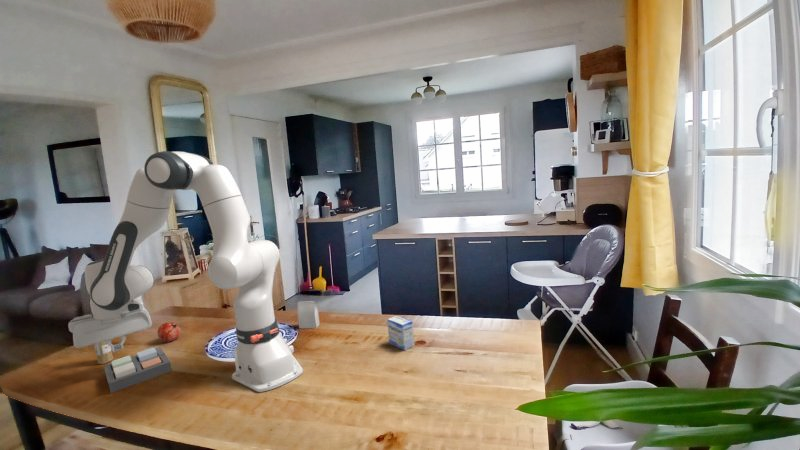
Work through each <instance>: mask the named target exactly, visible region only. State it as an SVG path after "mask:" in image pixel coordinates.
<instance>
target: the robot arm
mask: <svg viewBox="0 0 800 450" xmlns="http://www.w3.org/2000/svg"><path fill="white" fill-rule="evenodd" d="M177 190H180V191H181V190H182V191H188V190H192V191H194V192H195V193H196V195H198V198H199V199H200V202H201V206H202V207H203V210H204V213H205V216H206V218H207V221H208V224H209V227H210V231H211V234H212V239H213V240H212V242H213V243H212V244H213V248H212V250H213V251H212V256H211V260H210V261H209V263H208V266H207V275H208V277H209V280H210V282H211V283H212V285H214V286H215V287H217V288H218V289H220V290H230V289H235V288H238V292H237V294H236V296H235V298H234V301H233V311H234V316H235V322H236V323H235V324H236V328H235V336H236V339H237V341H238V342H237V344H236V346H235V348H234V349H233V352H234V361H235V364H234V365H235V371H234V372H233V373H232V374H231V379H232V380H234V381H235V382H237V383H239V384H241V385H243V386H245V387H246V388H247V387H248V388H249V389H251V390H253V391H255V392H258V393H262V392H267V391H270V390H273V389H277V388H278V387H281V386H283V385H285V384H288V383H289V382H291V381H293V380H294V379H297V378H298V377H299V376H301V375H302V374H303V372H304V369H303V367H302V365H300V363H299V361H298V360H297V359H296V357H295V356H294V355H293V354H294V352H295V348H294V346H293V345H288V344H287V343H288V339H287V338H284V337H283V335H282V332H281V331H280V328H279V323H278V321H277V319H276V317H275V309H274V303H273V302H274V301H273V284H274V277H275V271H276V268H277V266H278V264H279V261H280V258H281V257H280V256H281V254H280V250H279V248H278V246H277V244H275V242H273V241H271V240H268V239H257V240H252V241H250V242H249V238H248V231H249V227H250V225H251V221H252V220H251V216H250V213H249V211H248V207H247V205H246V203H245V201H244V198H243V195H242V193H241V190H240V188H239V186H238V184H237V182H236V179H234V176H233V175H232V173H231V172H230V170H229V169H228V168H227V166H224V165H222V164H217V163H216V164H215V163H214V162H213V161H212V160H211V159H209V158H208V157H207V156H204V155H201V154H199V153H191V152H186V151H178V150H177V151H169V150H164V151H158V152H155V153H153V154H151V155H150V156H148V158H147V159H146V161H145V163H144V166H142V167H140V168H139V169H137V171H136V172H135V174H134V176H133V178H132V181H131V184H130V185H129V189H128V193H127V197H126V202H125V206H124V209H123V211H122V214H121V215H122V216H121V217H120V220H119V222H118V224H117V225H116V227H115V229H114V231H113V233H112V235H111V238H110V240H109V244H108V247H107V249H106V252H105V256H104V258H101V259H98V260H94V261H91V262H89V263H87V264H86V265H85V267H84V281H85V286H86V291H87V292H88V294H89V297H90V300H89V306H90V310H91V313H87V314H85V315H81V316H76V317H73V319H71V320H70V321H68V324H67V326H68V327H67V328H68V331H69V332H70V333H71V334H72V341H73V346H74V347H75V348H76V349H81V348H85V347H89V346H92V345H94V344H96V343H99V342H103V341H106V343H107V344H108V345H109V346H110V347H111V351H112V353H115V352H118V351H122V350H124V349H125V348H124V343H125V341H126V339H127V336H126V335H130V334H133V333H137V332H140V331H144V330H147V329H151V327H152V325H153V322H152V319H151V318H152V317H151V316H150V313H149V311H148V310H147V309H146V307H145V306H144V302H143V300H142V299H140V298H139V297H141V296H142V295H144V294H146V293H148V292H149V291H150V290H151V289H153V286H154V284H155V279H154V275H153V273H152V272H151V270H150V269H149V268H147V267H146V266H144V265H141V264H140V265H135V264H131V262H132V260H133V257H134V254H135V251H136V250H137V248H138V247H139V246H140V245H141V244H142V243H143V242H144V241H145V240H147V238H149V237H150V236H152V235H153V234H154V233H156V232H157V231H158V232H159V230H161V229H162V228H163V227H164V224H165V223H166V221H167V218H168V215H169V213H170V212H169V211H170V208H171V204H172V203H171V202H172V199H173V195H174V194H175V192H176V191H177ZM116 338H120V342H119V343H115V344H113V342H112V341H113V339H116Z"/></svg>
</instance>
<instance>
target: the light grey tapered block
mask: <svg viewBox="0 0 800 450" xmlns="http://www.w3.org/2000/svg"><path fill="white" fill-rule="evenodd" d="M296 313H297V321H298V329H301V330H302V329H317V328H318V327H319V326H320V315H319V308H318V307H317V303H316V301H315V300H310V301H309V300H307V301H297V312H296Z"/></svg>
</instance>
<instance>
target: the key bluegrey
mask: <svg viewBox="0 0 800 450" xmlns="http://www.w3.org/2000/svg"><path fill="white" fill-rule="evenodd" d="M155 349H156V348H155V347H151V348H148V349H147V348H146V349H144V350H141V351H139V352H136V355H137V357H138V360H139V362H141V361H144V360H147V359H150V358H153V357H156V356H158V355H157V351H156V350H155Z"/></svg>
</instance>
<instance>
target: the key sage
mask: <svg viewBox="0 0 800 450" xmlns="http://www.w3.org/2000/svg"><path fill="white" fill-rule="evenodd" d="M131 357H132V356H131V355H130V354H129V355H127V356H123V357H120V358H117V359H113V360H111V361H110V362H111V363H112V368H116V367H119V366H122V365H125V364H128V363H131V362H132V359H131ZM113 371H114V369H113Z"/></svg>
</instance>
